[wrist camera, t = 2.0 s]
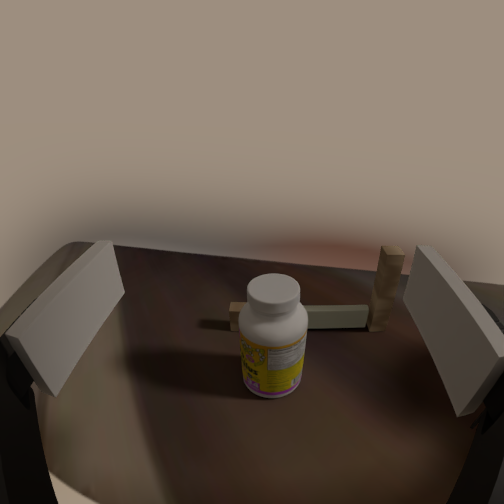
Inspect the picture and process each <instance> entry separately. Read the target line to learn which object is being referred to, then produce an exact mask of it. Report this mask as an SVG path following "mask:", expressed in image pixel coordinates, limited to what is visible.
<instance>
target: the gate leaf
mask: <svg viewBox="0 0 504 504" xmlns="http://www.w3.org/2000/svg"><path fill="white" fill-rule="evenodd" d="M304 308H305V310H306V312H307V315H308V327H307V329H309V328H356V327H365V325H366V321H367V317H368V313H369V308H368V306H367V305H334V306H304Z"/></svg>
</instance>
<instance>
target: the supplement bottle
mask: <svg viewBox="0 0 504 504" xmlns="http://www.w3.org/2000/svg"><path fill="white" fill-rule="evenodd" d="M247 300H248V302H247V303H246V304H245V305H244V306H243V307H242V309H241V311H240V314H239V319H238V322H239V335H240V350H241V361H242V373H243V380H244V383H245V385H246V386H247V388H248V389H249V390H250V391H251V392H253V393H254V394H256V395H258V396H261V397H265V398H279V397H282V396H285V395H287V394H289V393H291V392H292V391H293V390H295V388H296V387H297V386H298V384H299V382H300V379H301V374H302V368H303V360H304V351H305V343H306V335H307V327H308V315H307V312H306V310H305V308H304V306H303V305H302V304H301V303H300V302H299V301H300V286H299V284H298V282H297V281H296V280H294V279H293V278H291V277H289V276H287V275H282V274H265V275H261V276H258V277H256V278H254V279H253V280H252V281H250V283H249V284H248V287H247Z"/></svg>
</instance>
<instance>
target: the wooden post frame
mask: <svg viewBox="0 0 504 504" xmlns="http://www.w3.org/2000/svg"><path fill="white" fill-rule="evenodd" d="M404 257H405V254H404V253H403V252H402V250H401V249H400V248H399V246H381V251H380V257H379V262H378V268H377V273H376V278H375V282H374V287H373V292H372V296H371V301H370V305H369V313H368V317H367V321H366V323H367V326H368V329H369V332H377V331H385V329H386V326H387V323H388V319H389V316H390V313H391V309H392V306H393V302H394V298H395V295H396V291H397V287H398V283H399V279H400V275H401V270H402V266H403V262H404ZM245 304H246V302H231V305H230V309H229V317H230V327H231V331H239V322H238V319H239V314H240V311H241V309H242V307H243V306H244V305H245Z"/></svg>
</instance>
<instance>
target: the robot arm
mask: <svg viewBox="0 0 504 504" xmlns="http://www.w3.org/2000/svg"><path fill="white" fill-rule="evenodd" d="M124 293H125V292H124V288H123V284H122V281H121V277H120V273H119V269H118V265H117V261H116V257H115V253H114V248H113V244H112V241H97V242H96V243H95V244H94V245H93V246H91V247H90V248H89V249H88V250H87V251H86V252H85V253H84V254H83V255H81V256H80V257H79V258H78V259H77V260H76V261H75V262H74V263H73V264H72V265H71V266H70V267H68V268H67V269H66V270H65V271H64V272H63V273H62V274H61V275H60V276H59V277H58V278H57V279H56V280H55V281H54V282H53V283H52V284H51V285H50V286H49V287H48V288H47V289H46V290H45V291H44V292H43V293H42V294H41V295H40V296H39V297H38V298H36V299H35V300H34V301H33V302H32V303H31V304H30V305H29V306H28V307H27V309H25V310H24V311H23V312H22V314H21V316H19V317H18V318H17V319H16V320H15V321H14V322H13V323H12V325H11V326H10V327H9V328H8V329H7V330H6V331H5V332H4V334H3V335H2V336H1V337H0V504H58V501H57V499H56V496H55V492H54V489H53V486H52V482H51V479H50V475H49V472H48V468H47V464H46V460H45V455H44V451H43V446H42V441H41V436H40V431H39V425H38V419H37V412H36V404H35V396H34V392H33V389H32V388H31V387H30V386H31V384H32V383H33V381H34V382H35V383H36V385H37V386H38V388H39V389H40V390H41V392H43V393H46V394H48V395H51V396H53V397H57V395H58V393H59V391H60V390H61V388H62V386H63V385H64V383H65V381H66V380H67V378H68V377H69V375H70V373H71V372H72V370H73V368H74V367H75V365H76V364H77V362H78V361H79V359H80V357H81V356H82V354H83V353H84V351H85V350H86V348H87V347H88V345H89V344H90V342H91V341H92V339H93V338H94V336H95V335H96V333H97V332H98V330H99V329H100V327H101V326H102V324H103V323H104V321H105V320H106V318H107V317H108V315H109V314H110V313H111V311H112V310H113V308H114V307H115V305H116V304H117V303H118V301H119V300H120V298H121V297H122V296H123V294H124ZM403 301H404V303H405V304H406V306H407V308H408V310H409V312H410V314H411V316H412V318H413V320H414V322H415V324H416V325H417V327H418V329H419V331H420V333H421V335H422V337H423V340H424V342H425V344H426V346H427V348H428V350H429V352H430V354H431V356H432V358H433V361H434V363H435V365H436V367H437V369H438V372H439V374H440V376H441V379H442V381H443V383H444V386H445V388H446V390H447V393H448V395H449V398H450V400H451V403H452V405H453V408H454V410H455V413H456V416H457V417H460V416H463V415H467V414H470V413H473V412H475V410H476V409H477V408H478V407H479V405H480V404H481V403H482V402H484V404H485V406H486V408H485V410H484V411H483V412H482V413H481V415H480V416H479V417H478V418H477V419H476V420H475V422H474V423H473V424H472V426H471V427H470V428H472V429H473V428H474V427H475V426H476V425H477V423H479V424H478V428H477V429H476V434H475V437H474V440H473V443H472V445H471V448H470V451H469V454H468V456H467V459H466V461H465V464H464V466H463V469H462V471H461V473H460V476H459V478H458V480H457V482H456V485H455V487H454V489H453V491H452V493H451V495H450V497H449V499H448V501H447V503H446V504H504V326H503V325H502V324H501V322H500V323H499V320H498V318H497V317H496V316H495V314H494V313H493V312H492V311H491V310H490V309H489V308H487V307H486V306H485V305H483V304H481V303H480V302H479V301H478V299H477V298H476V297H475V296H474V294H473V293H472V292H471V291H470V289H469V288H468V287H467V286H466V285H465V283H464V282H463V281H462V280H461V279H460V278H459V276H458V275H457V274H456V273H455V272H454V271H453V270H452V268H451V267H450V266H449V265H448V264H447V263H446V262H445V260H444V259H443V258H442V257H441V256H440V255H439V254H438V253H437V252H436V250H435V249H434V248H433V247H432V246H421V245H417V246H416V250H415V255H414V259H413V263H412V268H411V271H410V275H409V279H408V283H407V286H406V290H405V293H404V297H403Z"/></svg>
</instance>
